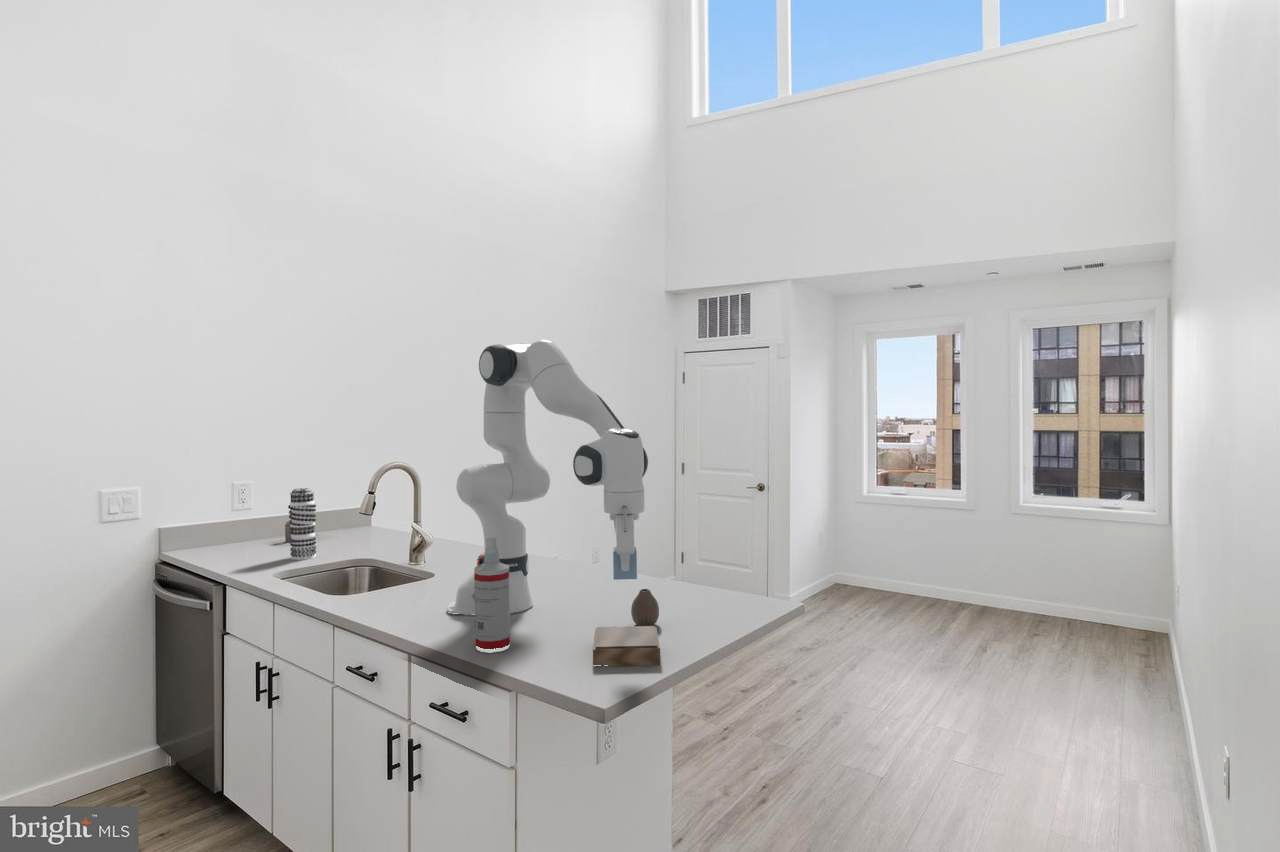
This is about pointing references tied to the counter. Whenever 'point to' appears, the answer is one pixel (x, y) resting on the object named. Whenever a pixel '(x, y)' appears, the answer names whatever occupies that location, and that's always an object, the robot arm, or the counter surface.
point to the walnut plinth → (626, 646)
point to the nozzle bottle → (492, 600)
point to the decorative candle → (302, 524)
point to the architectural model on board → (289, 532)
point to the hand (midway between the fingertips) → (624, 566)
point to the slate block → (617, 566)
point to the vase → (645, 609)
